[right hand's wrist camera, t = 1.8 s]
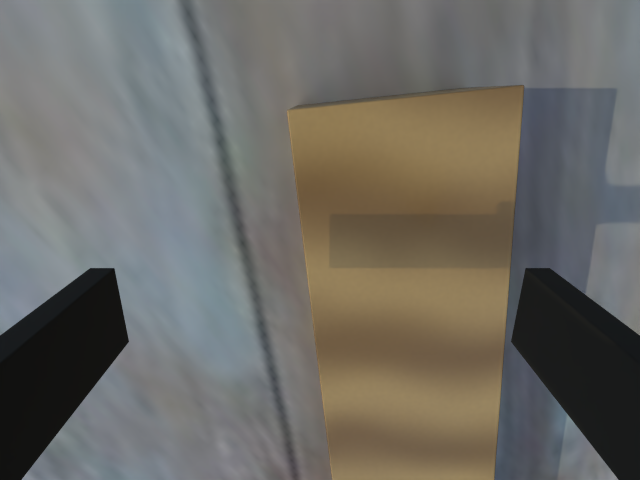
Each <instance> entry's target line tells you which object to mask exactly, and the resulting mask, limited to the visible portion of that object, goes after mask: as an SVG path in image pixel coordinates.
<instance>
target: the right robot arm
mask: <svg viewBox="0 0 640 480" xmlns="http://www.w3.org/2000/svg"><path fill="white" fill-rule="evenodd" d="M128 342H129V340H128V335H127V330H126V325H125V320H124V315H123V310H122V305H121V300H120V295H119V290H118V285H117V280H116V275H115V269H114V268H90V269H89V270H87V271H86V272H85V273H83V274H82V275H81V276H79V277H78V278H77V279H75V280H74V281H73V282H71V283H70V284H69V285H67V286H66V287H65V288H63V289H62V290H61V291H59V292H58V293H57V294H55V295H54V296H53V297H51V298H50V299H49V300H47V301H46V302H45V303H43V304H42V305H41V306H39V307H38V308H37V309H35V310H34V311H33V312H31V313H30V314H28V315H27V316H26V317H24V318H23V319H22V320H20V321H19V322H18V323H16V324H15V325H14V326H12V327H11V328H10V329H8V330H7V331H6V332H4V333H3V334H2V335H0V480H21V479H22V478H23V477H24V476H25V474H26V473H27V472H28V470H29V469H30V468H31V467H32V465H33V464H34V463H35V461H36V460H37V459H38V458H39V456H40V455H41V454H42V452H43V451H44V450H45V449H46V447H47V446H48V445H49V443H50V442H51V441H52V440H53V438H54V437H55V436H56V434H57V433H58V432H59V431H60V429H61V428H62V427H63V425H64V424H65V423H66V422H67V420H68V419H69V418H70V417H71V415H72V414H73V413H74V411H75V410H76V409H77V408H78V406H79V405H80V404H81V402H82V401H83V400H84V399H85V397H86V396H87V395H88V393H89V392H90V391H91V390H92V388H93V387H94V386H95V384H96V383H97V382H98V381H99V379H100V378H101V377H102V375H103V374H104V373H105V372H106V370H107V369H108V368H109V366H110V365H111V364H112V363H113V361H114V360H115V359H116V358H117V356H118V355H119V354H120V352H121V351H122V350H123V349H124V347H125V346H126V345H127V343H128ZM511 342H512V343H513V345H514V346H515V347H516V349H517V350H518V351H519V352H520V354H521V355H522V356H523V358H524V359H525V360H526V361H527V363H528V364H529V365H530V366H531V368H532V369H533V370H534V372H535V373H536V374H537V375H538V377H539V378H540V379H541V381H542V382H543V383H544V384H545V386H546V387H547V388H548V390H549V391H550V392H551V393H552V395H553V396H554V397H555V399H556V400H557V401H558V402H559V404H560V405H561V406H562V408H563V409H564V410H565V411H566V413H567V414H568V415H569V417H570V418H571V419H572V420H573V422H574V423H575V424H576V426H577V427H578V428H579V429H580V431H581V432H582V433H583V434H584V436H585V437H586V438H587V440H588V441H589V442H590V443H591V445H592V446H593V447H594V449H595V450H596V451H597V452H598V454H599V455H600V456H601V458H602V459H603V460H604V461H605V463H606V464H607V465H608V467H609V468H610V469H611V470H612V472H613V473H614V474H615V476H616V477H617V478H618V479H619V480H640V335H638V334H637V333H636V332H634V331H633V330H632V329H630V328H629V327H628V326H626V325H625V324H624V323H622V322H621V321H620V320H618V319H617V318H616V317H614V316H613V315H612V314H610V313H609V312H607V311H606V310H605V309H603V308H602V307H601V306H599V305H598V304H597V303H595V302H594V301H593V300H591V299H590V298H589V297H587V296H586V295H585V294H583V293H582V292H581V291H579V290H578V289H577V288H575V287H574V286H573V285H571V284H570V283H569V282H567V281H566V280H565V279H563V278H562V277H561V276H559V275H558V274H557V273H555V272H554V271H553V270H551V269H550V268H526V269H525V275H524V280H523V285H522V290H521V295H520V300H519V305H518V310H517V315H516V320H515V325H514V330H513V335H512V340H511Z"/></svg>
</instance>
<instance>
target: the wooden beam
mask: <svg viewBox="0 0 640 480" xmlns="http://www.w3.org/2000/svg"><path fill="white" fill-rule="evenodd" d="M523 96H524V85H514V86H493V87H472V88H459V89H450V90H440V91H431V92H421V93H412V94H402V95H393V96H383V97H374V98H365V99H355V100H346V101H336V102H327V103H317V104H308V105H298V106H295V107H293V108H291V109H289V110H287V116H288V124H289V132H290V140H291V148H292V156H293V165H294V173H295V181H296V189H297V197H298V205H299V213H300V222H301V230H302V238H303V246H304V254H305V262H306V270H307V279H308V287H309V295H310V303H311V311H312V319H313V327H314V336H315V344H316V352H317V360H318V368H319V376H320V384H321V393H322V401H323V409H324V417H325V425H326V433H327V441H328V450H329V458H330V466H331V474H332V480H494V476H495V462H496V449H497V436H498V423H499V410H500V397H501V384H502V371H503V358H504V345H505V332H506V318H507V305H508V292H509V279H510V266H511V253H512V240H513V227H514V214H515V201H516V188H517V174H518V161H519V148H520V135H521V122H522V109H523Z"/></svg>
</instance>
